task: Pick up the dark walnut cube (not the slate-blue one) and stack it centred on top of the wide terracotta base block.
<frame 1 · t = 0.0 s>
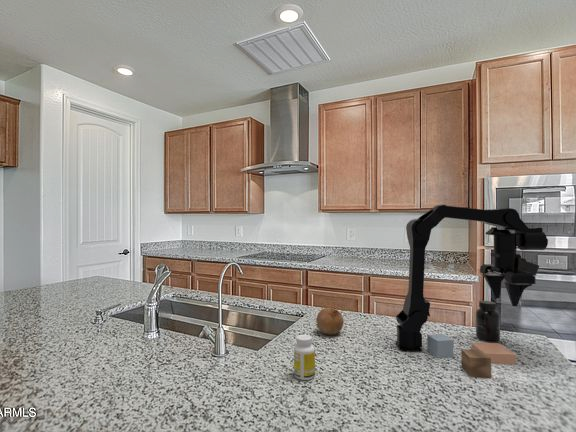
hand: (505, 302, 95), 15 cm above the countertop, fingers open, 9 cm apart
onion: (329, 333, 111), on the countertop
base block: (492, 358, 91), on the countertop
slate-blue cube: (440, 354, 93), on the countertop
supplement bottle 2: (304, 376, 81), on the countertop
supplement bottle: (487, 339, 105), on the countertop
walnut cube: (475, 373, 82), on the countertop
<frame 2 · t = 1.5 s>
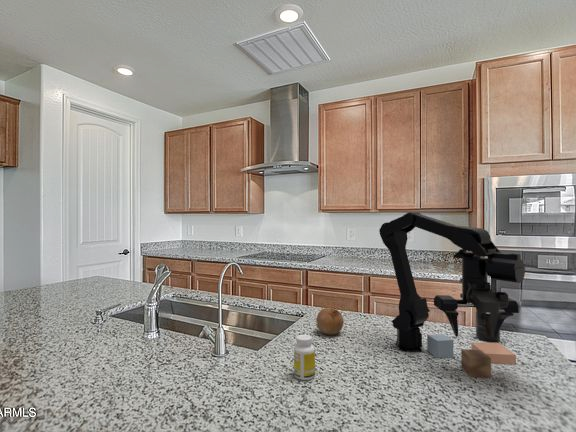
hand: (475, 336, 82), 9 cm above the countertop, fingers open, 9 cm apart
nothing on the countertop moved.
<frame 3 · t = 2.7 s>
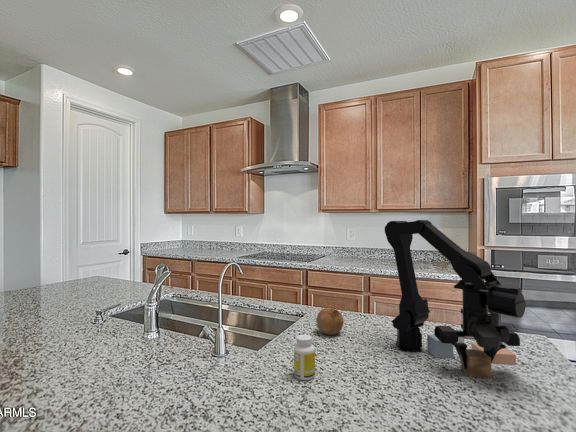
hand: (475, 368, 82), 1 cm above the countertop, fingers closed on walnut cube, 5 cm apart
walnut cube: (475, 372, 82), on the countertop, touching gripper
everything else where it was.
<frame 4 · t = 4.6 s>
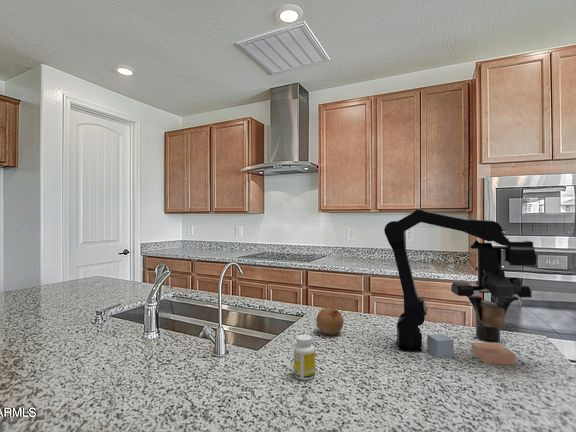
hand: (490, 320, 89), 11 cm above the countertop, fingers closed on walnut cube, 5 cm apart
walnut cube: (490, 324, 89), point 10 cm above the countertop, touching gripper
everything else where it was.
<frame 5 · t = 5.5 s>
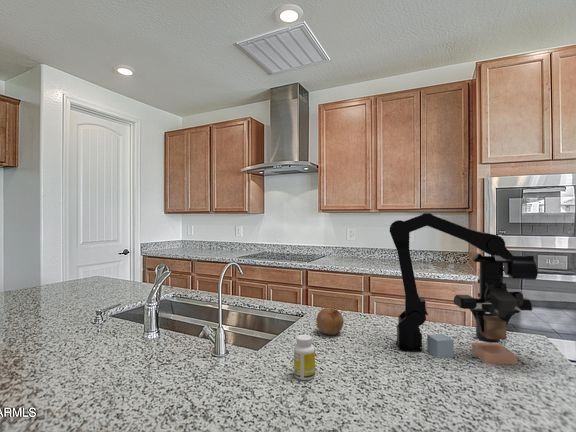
hand: (491, 332, 91), 7 cm above the countertop, fingers closed on walnut cube, 5 cm apart
walnut cube: (492, 335, 91), point 6 cm above the countertop, touching gripper
everything else where it was.
when the fingers open (5 cm above the countertop, at t = 6.2 s): walnut cube drops 2 cm, resting on base block.
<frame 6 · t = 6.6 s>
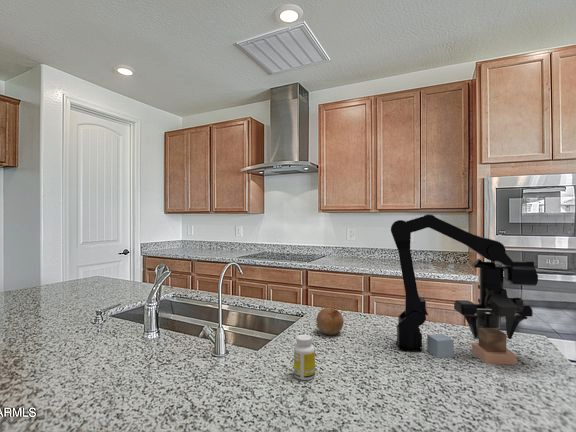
hand: (492, 338, 91), 5 cm above the countertop, fingers open, 9 cm apart
base block: (492, 358, 91), on the countertop, touching walnut cube
walnut cube: (492, 348, 91), point 3 cm above the countertop, touching base block
everything else where it was.
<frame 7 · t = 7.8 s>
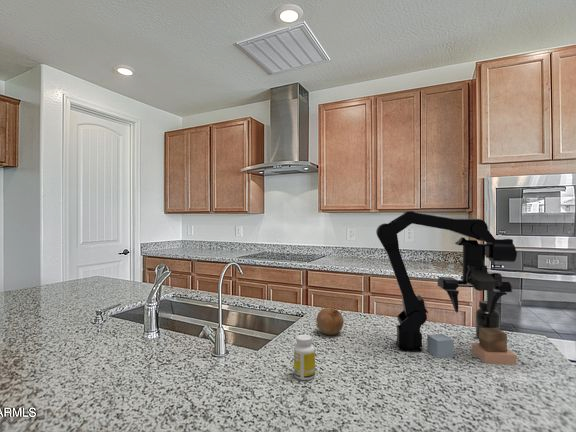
hand: (473, 313, 95), 12 cm above the countertop, fingers open, 9 cm apart
base block: (493, 359, 91), on the countertop
walnut cube: (492, 348, 91), point 3 cm above the countertop
everything else where it was.
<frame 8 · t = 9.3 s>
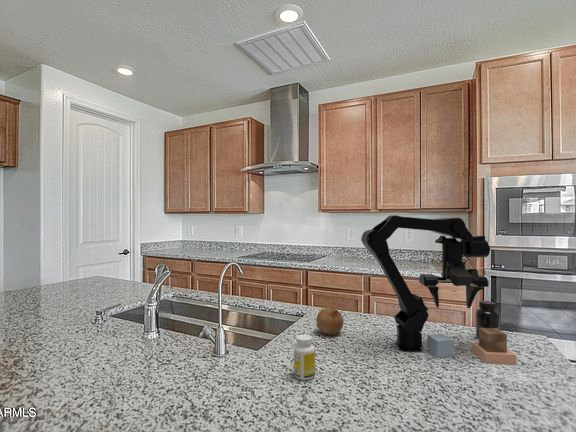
hand: (452, 307, 99), 12 cm above the countertop, fingers open, 9 cm apart
base block: (493, 359, 91), on the countertop, touching walnut cube
walnut cube: (492, 348, 91), point 3 cm above the countertop, touching base block
everything else where it was.
at the end: walnut cube 0.2 cm off-centre on the base block, point 3.0 cm above the base block's base; walnut cube touching base block; slate-blue cube moved 0.1 cm from its start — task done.
